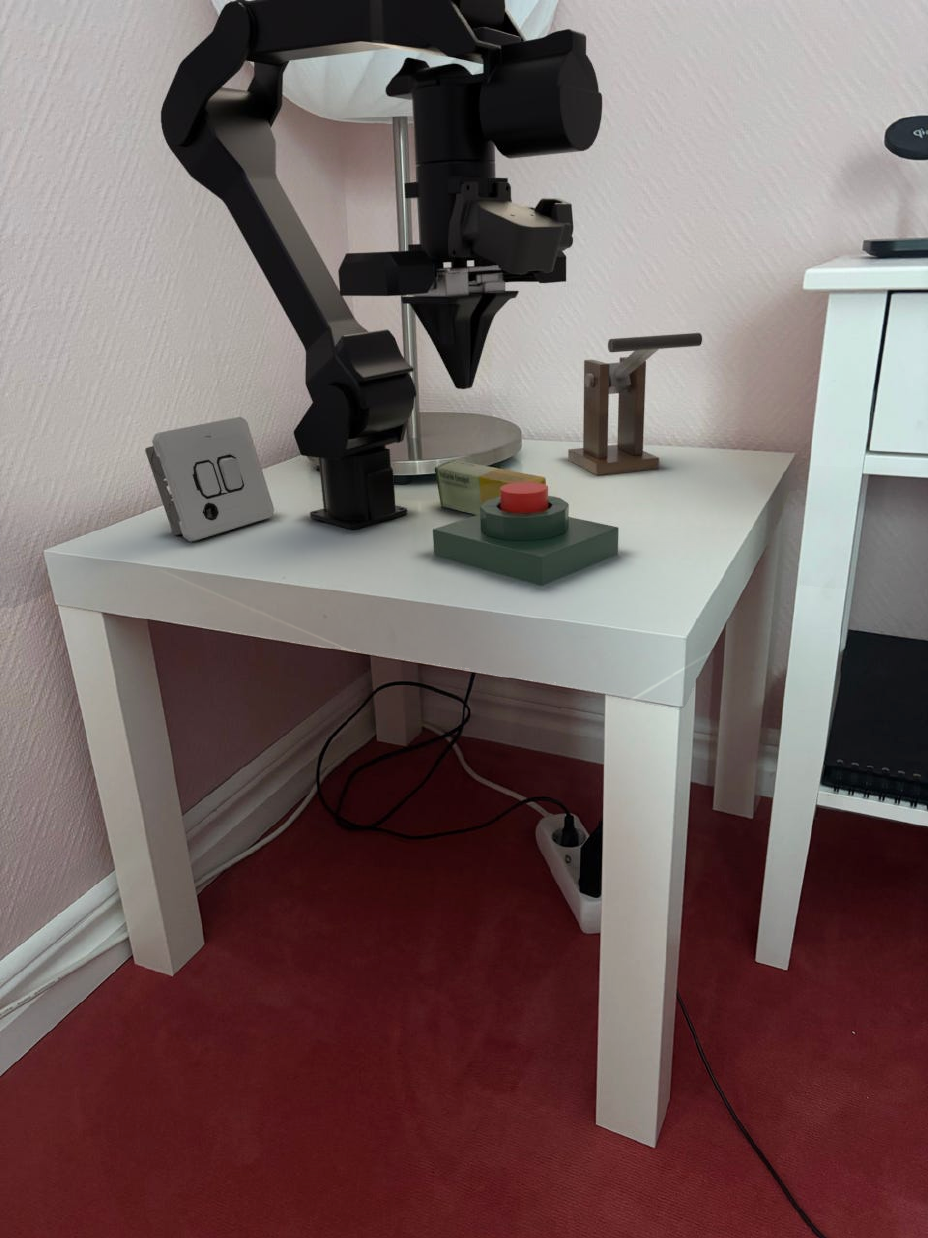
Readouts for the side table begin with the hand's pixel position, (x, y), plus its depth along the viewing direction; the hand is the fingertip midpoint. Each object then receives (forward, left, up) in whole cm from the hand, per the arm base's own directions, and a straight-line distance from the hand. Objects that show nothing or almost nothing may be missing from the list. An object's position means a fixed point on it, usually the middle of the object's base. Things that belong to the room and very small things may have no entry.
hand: (463, 388), depth 71 cm
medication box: (-3, +5, -12) cm, 14 cm away
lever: (-2, +26, -2) cm, 26 cm away
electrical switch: (-20, -12, -12) cm, 26 cm away
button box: (+7, -1, -12) cm, 14 cm away
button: (+7, -1, -8) cm, 11 cm away
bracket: (-6, +28, -12) cm, 31 cm away
